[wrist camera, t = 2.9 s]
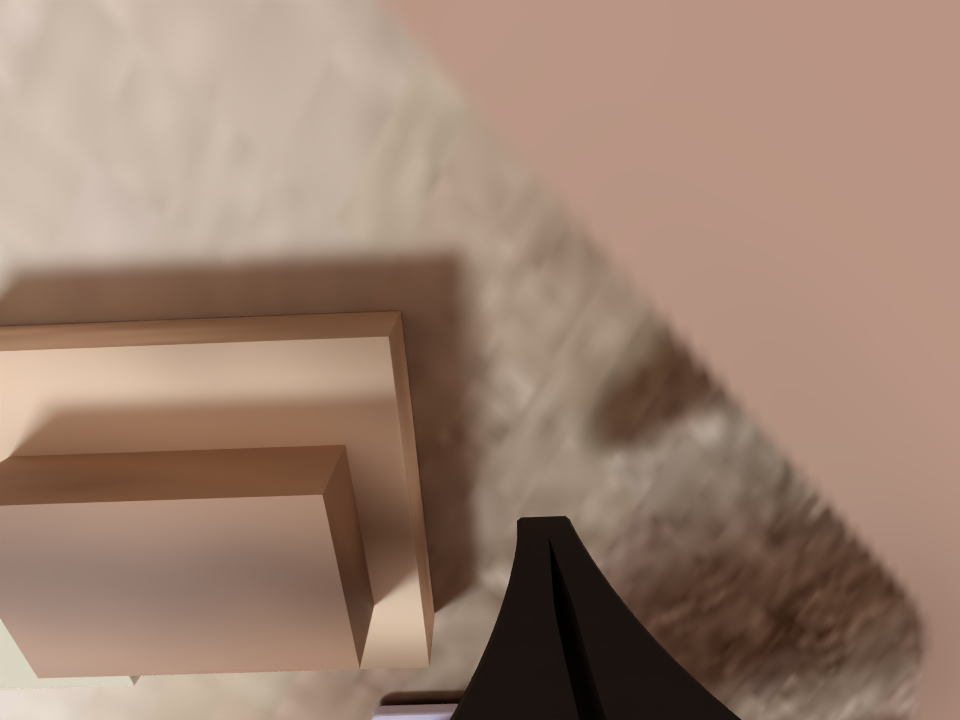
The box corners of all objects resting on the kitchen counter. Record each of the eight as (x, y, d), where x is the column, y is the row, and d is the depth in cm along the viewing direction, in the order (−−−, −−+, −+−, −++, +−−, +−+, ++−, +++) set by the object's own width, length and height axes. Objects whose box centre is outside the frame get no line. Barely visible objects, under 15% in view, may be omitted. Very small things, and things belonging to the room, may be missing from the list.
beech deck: (434, 614, 18) (429, 666, 16) (120, 624, 18) (80, 677, 16) (400, 310, 13) (388, 336, 11) (-26, 327, 13) (-106, 355, 12)
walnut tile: (374, 605, 15) (359, 669, 13) (91, 614, 15) (38, 678, 13) (345, 444, 13) (322, 495, 11) (8, 456, 13) (-70, 508, 11)
